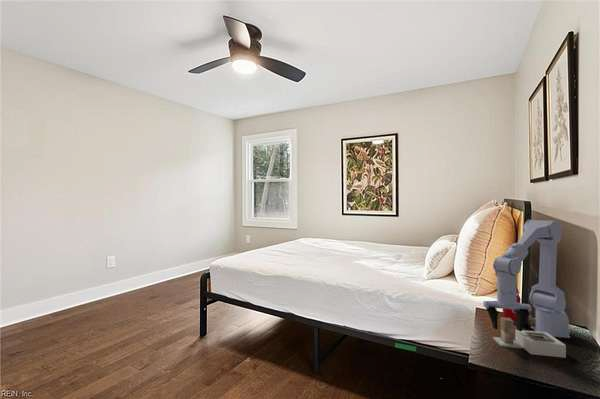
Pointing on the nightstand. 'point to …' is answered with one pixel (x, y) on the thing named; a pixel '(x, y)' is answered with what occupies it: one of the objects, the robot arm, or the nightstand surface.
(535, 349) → the guard housing
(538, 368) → the nightstand surface
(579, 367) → the nightstand surface
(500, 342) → the pad
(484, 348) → the nightstand surface
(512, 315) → the beverage can
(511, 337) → the wooden building block
